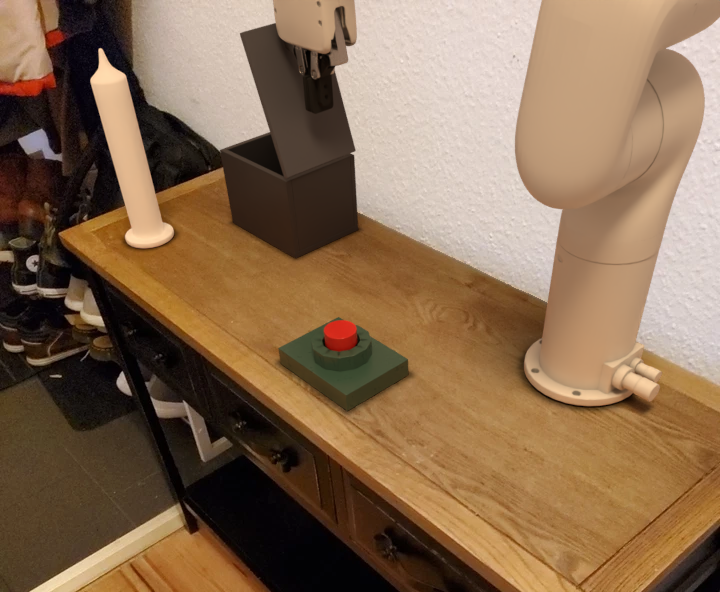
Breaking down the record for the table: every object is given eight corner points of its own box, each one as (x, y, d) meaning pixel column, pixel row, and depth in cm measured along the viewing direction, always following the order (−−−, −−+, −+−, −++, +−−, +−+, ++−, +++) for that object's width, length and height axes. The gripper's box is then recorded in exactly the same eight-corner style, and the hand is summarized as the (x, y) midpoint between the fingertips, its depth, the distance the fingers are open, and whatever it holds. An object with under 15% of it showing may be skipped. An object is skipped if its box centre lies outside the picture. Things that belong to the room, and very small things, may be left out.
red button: (364, 342, 81) (363, 329, 80) (339, 356, 80) (338, 342, 79) (343, 329, 83) (342, 316, 82) (318, 342, 82) (317, 329, 81)
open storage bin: (232, 222, 111) (219, 149, 104) (293, 197, 116) (285, 126, 109) (295, 258, 103) (286, 181, 95) (358, 229, 108) (354, 154, 100)
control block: (408, 375, 83) (408, 345, 80) (347, 411, 79) (345, 381, 76) (339, 332, 90) (337, 303, 87) (280, 363, 86) (275, 334, 83)
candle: (182, 238, 109) (137, 48, 91) (137, 253, 106) (82, 61, 88) (162, 221, 113) (116, 36, 95) (119, 235, 110) (63, 48, 92)
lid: (239, 33, 87) (242, 32, 87) (315, 12, 92) (319, 10, 92) (284, 178, 95) (287, 178, 94) (352, 151, 100) (356, 151, 100)
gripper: (378, -71, 76) (382, 115, 89) (290, -85, 85) (306, 88, 98) (321, -59, 73) (334, 133, 86) (236, -74, 81) (260, 103, 94)
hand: (319, 109), depth 92 cm, fingers closed
